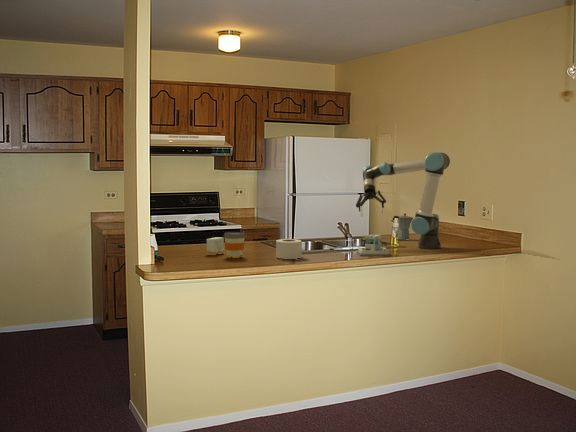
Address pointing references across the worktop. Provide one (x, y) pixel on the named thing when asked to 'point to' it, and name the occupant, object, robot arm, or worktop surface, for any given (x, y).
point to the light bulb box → (373, 243)
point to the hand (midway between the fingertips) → (371, 213)
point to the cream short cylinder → (289, 248)
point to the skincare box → (215, 244)
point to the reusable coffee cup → (234, 243)
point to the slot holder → (372, 252)
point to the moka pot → (403, 226)
